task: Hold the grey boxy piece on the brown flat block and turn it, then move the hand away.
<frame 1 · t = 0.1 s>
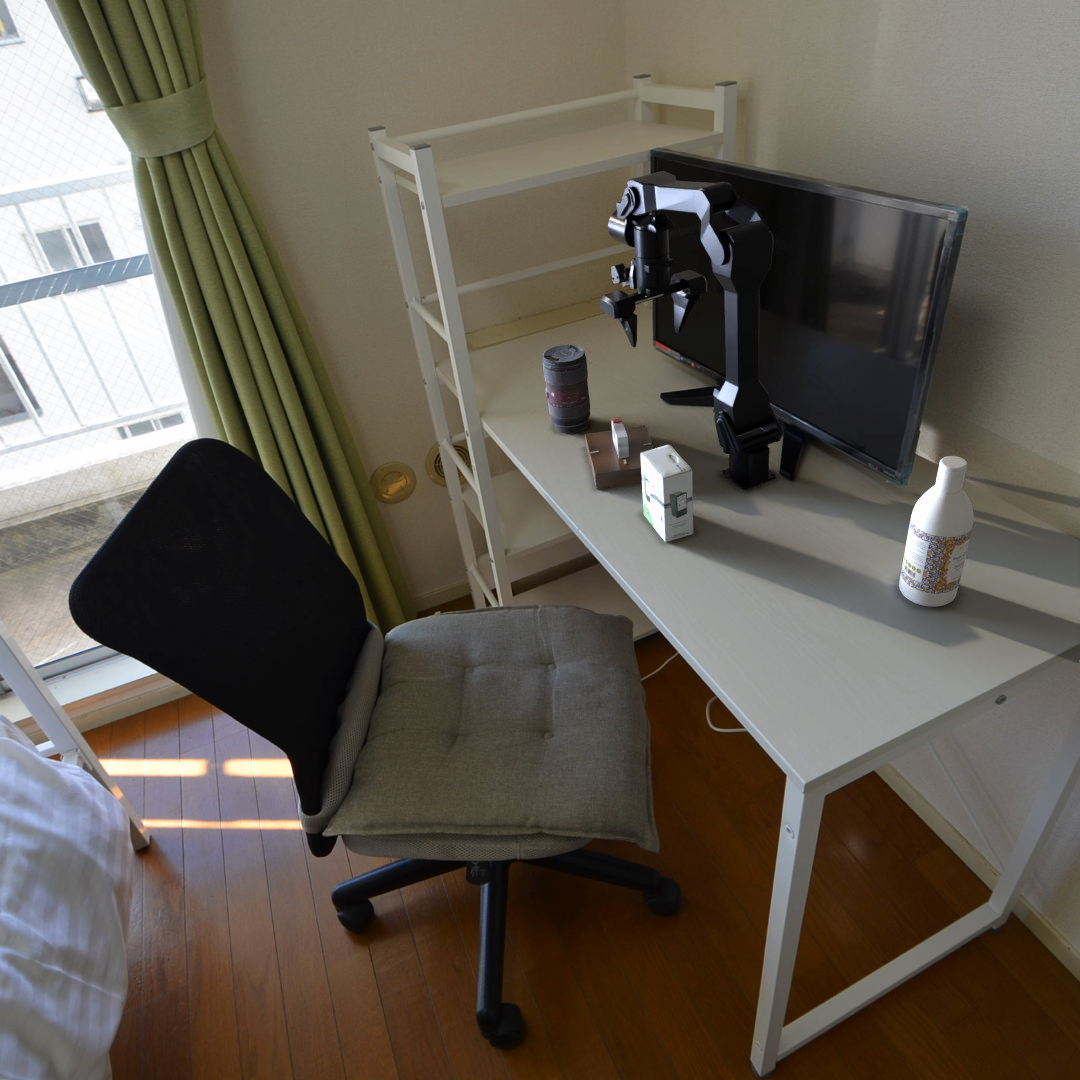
hand: (655, 339, 146), 15 cm above the table, tool pointing down, fingers open, 9 cm apart
ink box: (667, 525, 125), on the table
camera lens: (572, 426, 155), on the table
bath foam: (926, 592, 106), on the table
grey boxy piece: (620, 437, 138), point 5 cm above the table, hinge at 0.0°
brown flat block: (622, 463, 141), on the table
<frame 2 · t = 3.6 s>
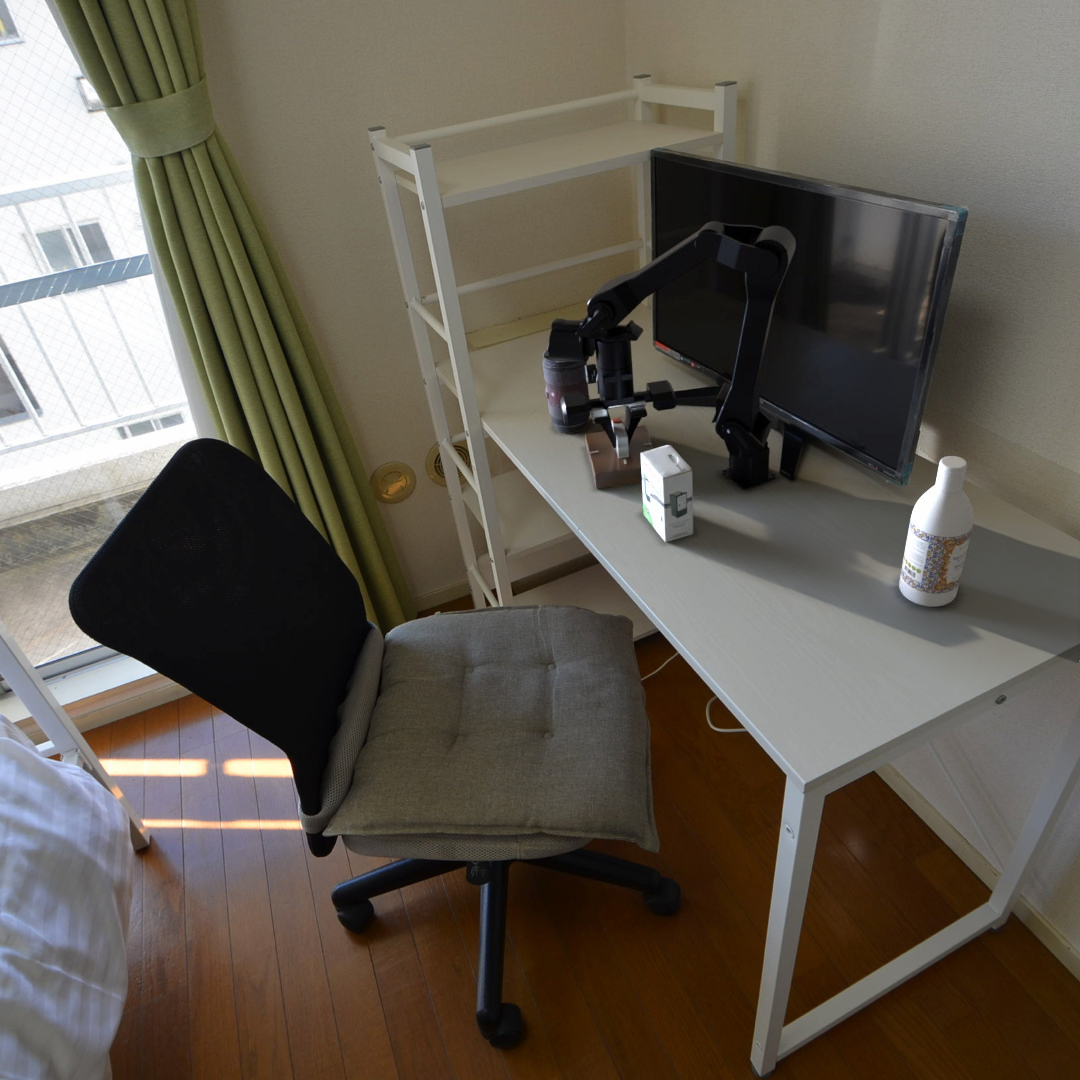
hand: (620, 446, 139), 4 cm above the table, tool pointing down, fingers closed on grey boxy piece, 2 cm apart
grey boxy piece: (620, 437, 138), point 5 cm above the table, hinge at 0.0°, touching gripper
everything else where it was.
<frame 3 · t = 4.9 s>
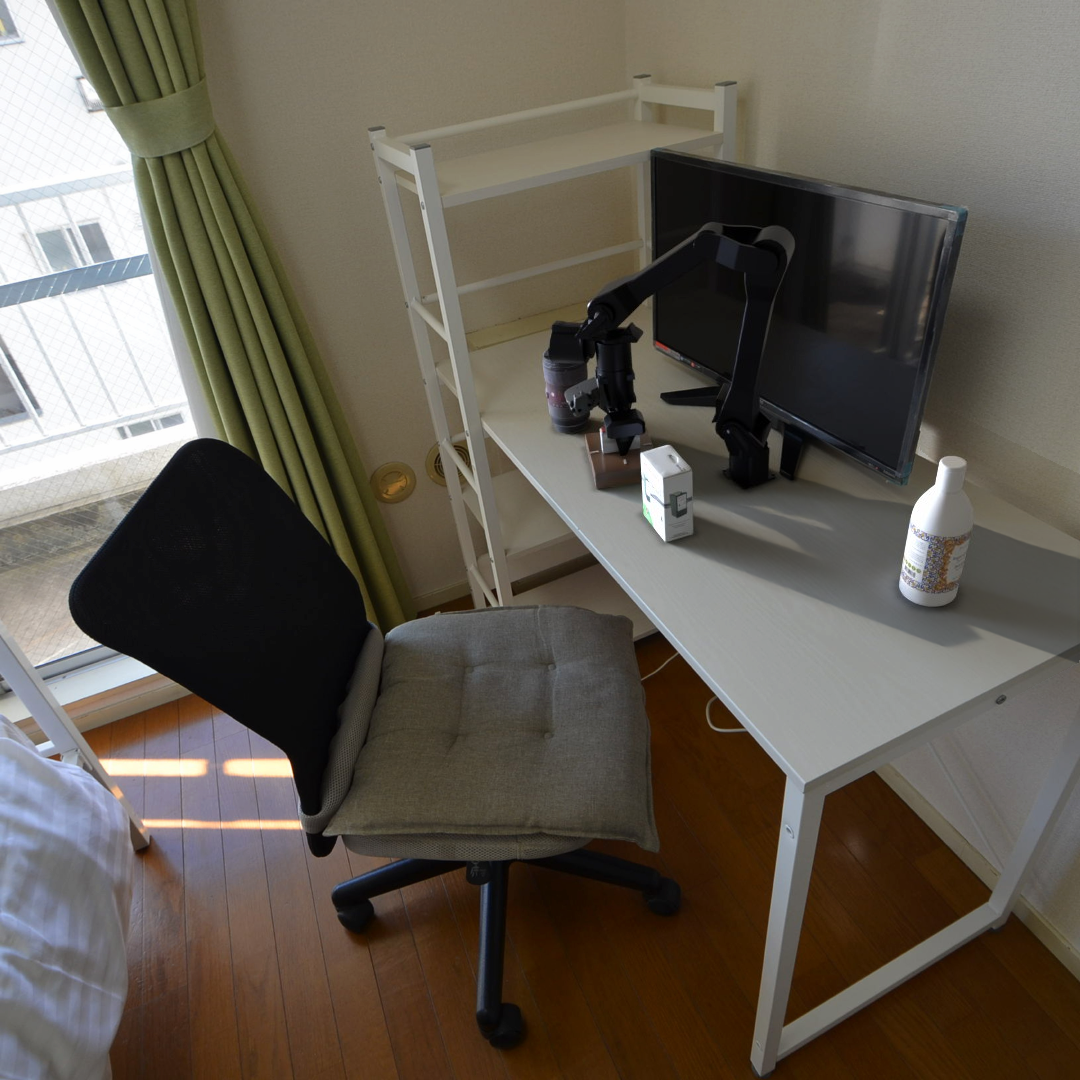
hand: (620, 447, 139), 3 cm above the table, tool pointing down, fingers open, 5 cm apart
grey boxy piece: (620, 437, 138), point 5 cm above the table, hinge at 90.0°
everything else where it was.
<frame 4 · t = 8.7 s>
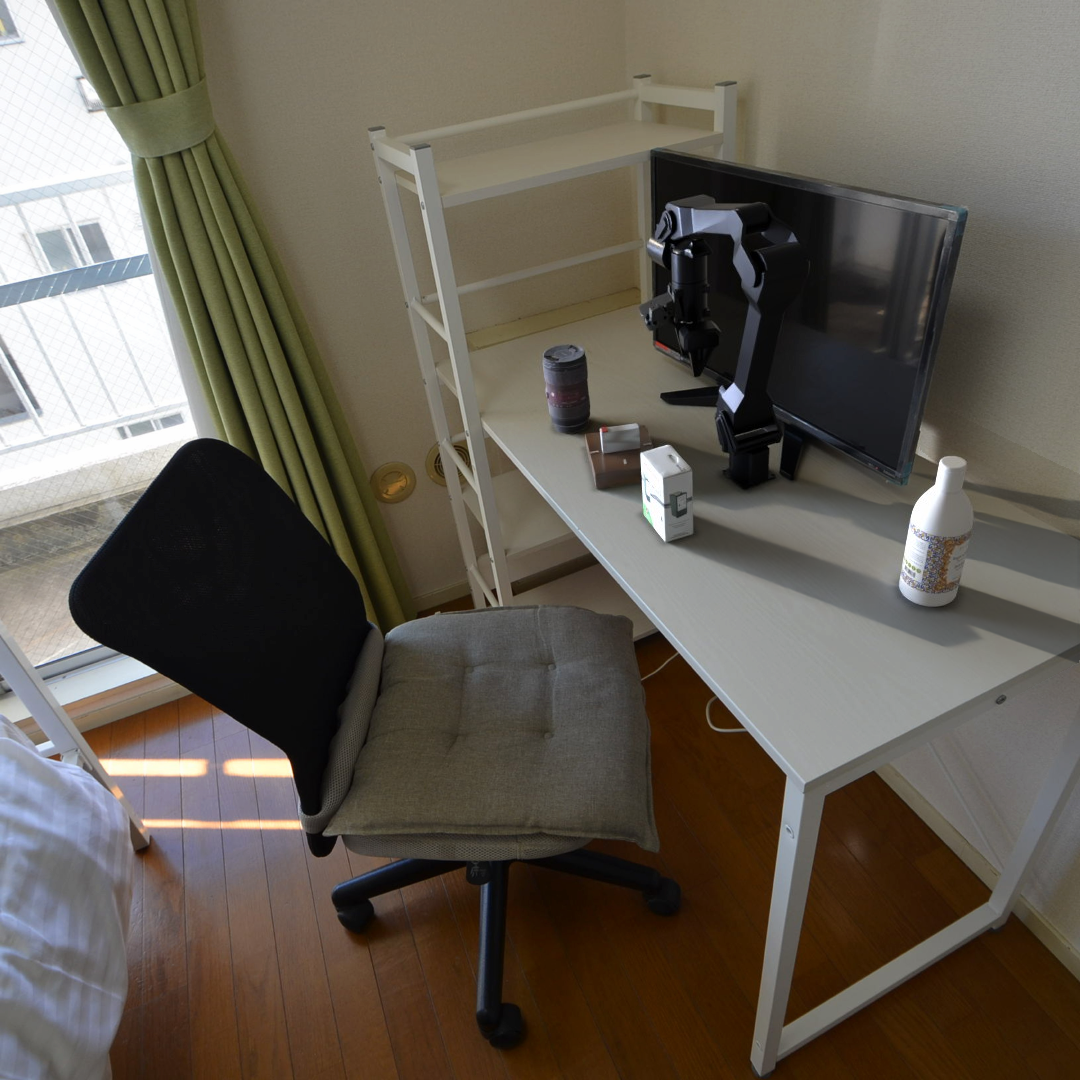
hand: (690, 365, 142), 12 cm above the table, tool pointing down, fingers open, 9 cm apart
nothing on the table moved.
at the end: grey boxy piece at +90° (first picture: +0°) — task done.
